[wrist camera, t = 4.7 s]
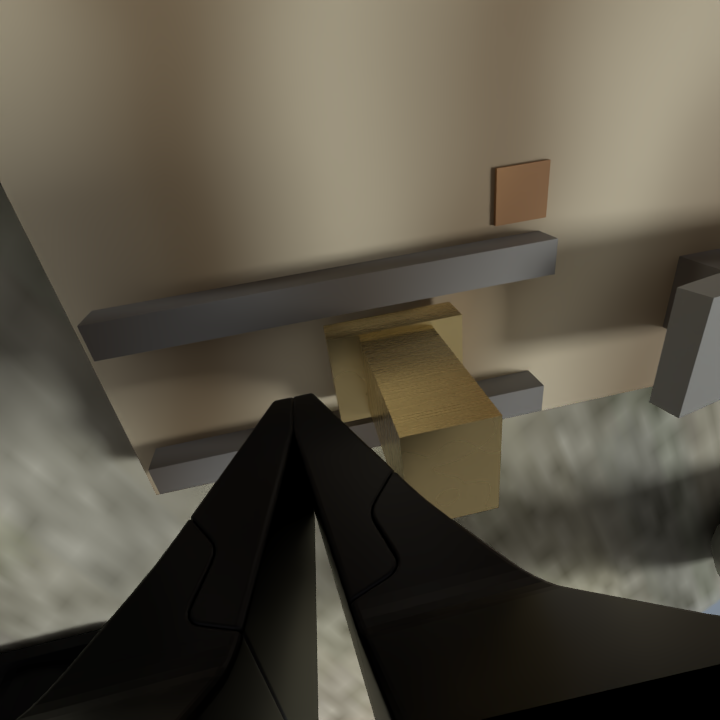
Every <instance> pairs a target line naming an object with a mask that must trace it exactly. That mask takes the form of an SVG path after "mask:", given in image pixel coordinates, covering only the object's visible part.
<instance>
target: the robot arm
mask: <svg viewBox="0 0 720 720" xmlns="http://www.w3.org/2000/svg"><path fill="white" fill-rule="evenodd" d="M314 511H315V512H314ZM315 515H316V518H317V521H318V525H319V528H320V532H321V535H322V539H323V542H324V545H325V549H326V552H327V556H328V559H329V563H330V566H331V569H332V573H333V576H334V580H335V583H336V587H337V590H338V593H339V597H340V600H341V604H342V607H343V611H344V614H345V617H346V621H347V624H348V628H349V631H350V635H351V638H352V641H353V645H354V648H355V652H356V655H357V658H358V662H359V665H360V669H361V672H362V676H363V679H364V682H365V686H366V689H367V693H368V696H369V700H370V703H371V706H372V710H373V713H374V717H375V720H720V616H718V615H711V614H706V613H700V612H695V611H690V610H684V609H679V608H674V607H669V606H663V605H658V604H653V603H647V602H642V601H637V600H631V599H626V598H621V597H616V596H610V595H605V594H600V593H594V592H589V591H584V590H579V589H573V588H568V587H563V586H559V585H556V584H553V583H550V582H547V581H545V580H543V579H540V578H538V577H536V576H534V575H532V574H530V573H529V572H527V571H525V570H523V569H522V568H520V567H519V566H517V565H516V564H514V563H513V562H511V561H510V560H509V559H507V558H506V557H504V556H503V555H502V554H500V553H499V552H497V551H496V550H495V549H493V548H492V547H490V546H489V545H488V544H486V543H485V542H483V541H482V540H481V539H479V538H478V537H476V536H475V535H474V534H472V533H471V532H469V531H468V530H467V529H465V528H464V527H462V526H461V525H460V524H458V523H457V522H455V521H454V520H453V519H451V518H450V517H448V516H447V515H446V514H444V513H443V512H442V511H441V510H439V509H438V508H437V507H435V506H434V505H433V504H431V503H430V502H429V501H427V500H426V499H425V498H424V497H423V496H422V495H420V494H419V493H418V492H417V491H416V490H415V489H414V488H412V487H411V486H410V485H409V484H408V483H407V482H406V481H405V480H404V479H403V478H402V477H401V476H400V475H399V474H398V473H396V472H394V470H393V469H392V468H391V467H390V466H389V465H388V464H387V463H386V462H385V461H384V460H383V459H381V458H380V457H379V456H378V455H377V454H376V453H375V452H374V451H373V450H372V449H371V448H370V447H369V446H368V445H367V444H366V443H365V442H364V441H363V440H362V439H360V438H359V437H358V436H357V435H356V434H355V433H354V432H353V431H352V430H351V429H350V428H349V427H348V426H347V425H346V424H345V423H344V422H343V421H342V420H341V419H339V418H338V417H337V416H336V415H335V414H334V413H333V412H332V411H331V410H330V409H329V408H328V407H327V406H326V405H325V404H324V403H323V402H322V401H321V400H319V399H318V398H317V397H316V396H315V395H314V394H313V393H308V394H303V395H299V396H295V397H294V398H292V397H289V398H285V399H280V400H276V401H274V402H273V403H272V404H271V405H270V407H269V408H268V409H267V411H266V412H265V414H264V415H263V416H262V418H261V419H260V421H259V422H258V423H257V425H256V426H255V428H254V429H253V431H252V432H251V433H250V435H249V436H248V438H247V439H246V440H245V442H244V443H243V445H242V446H241V447H240V449H239V450H238V452H237V453H236V454H235V456H234V457H233V459H232V460H231V461H230V463H229V464H228V466H227V467H226V468H225V470H224V471H223V473H222V474H221V475H220V477H219V478H218V480H217V481H216V482H215V484H214V485H213V487H212V488H211V489H210V491H209V492H208V494H207V495H206V496H205V498H204V499H203V501H202V502H201V503H200V505H199V506H198V508H197V509H196V510H195V512H194V513H193V515H192V516H191V520H188V521H187V523H186V524H185V526H184V527H183V528H182V530H181V531H180V533H179V534H178V535H177V537H176V538H175V540H174V541H173V542H172V543H171V545H170V546H169V547H168V549H167V550H166V551H165V553H164V554H163V555H162V557H161V558H160V559H159V561H158V562H157V563H156V565H155V566H154V567H153V568H152V570H151V571H150V572H149V573H148V574H147V576H146V577H145V578H144V579H143V580H142V582H141V583H140V584H139V585H138V587H137V588H136V589H135V590H134V591H133V593H132V594H131V595H130V596H129V597H128V599H127V600H126V601H125V602H124V603H123V604H122V605H121V607H120V608H119V609H118V610H117V611H116V612H115V614H114V615H113V616H112V617H111V618H110V619H109V621H108V622H107V623H106V624H105V625H104V626H103V628H102V629H101V630H98V631H94V632H90V633H86V634H81V635H77V636H73V637H69V638H65V639H61V640H57V641H53V642H49V643H45V644H40V645H36V646H32V647H28V648H24V649H20V650H16V651H12V652H8V653H3V654H0V720H318V673H317V618H316V562H315Z"/></svg>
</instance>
